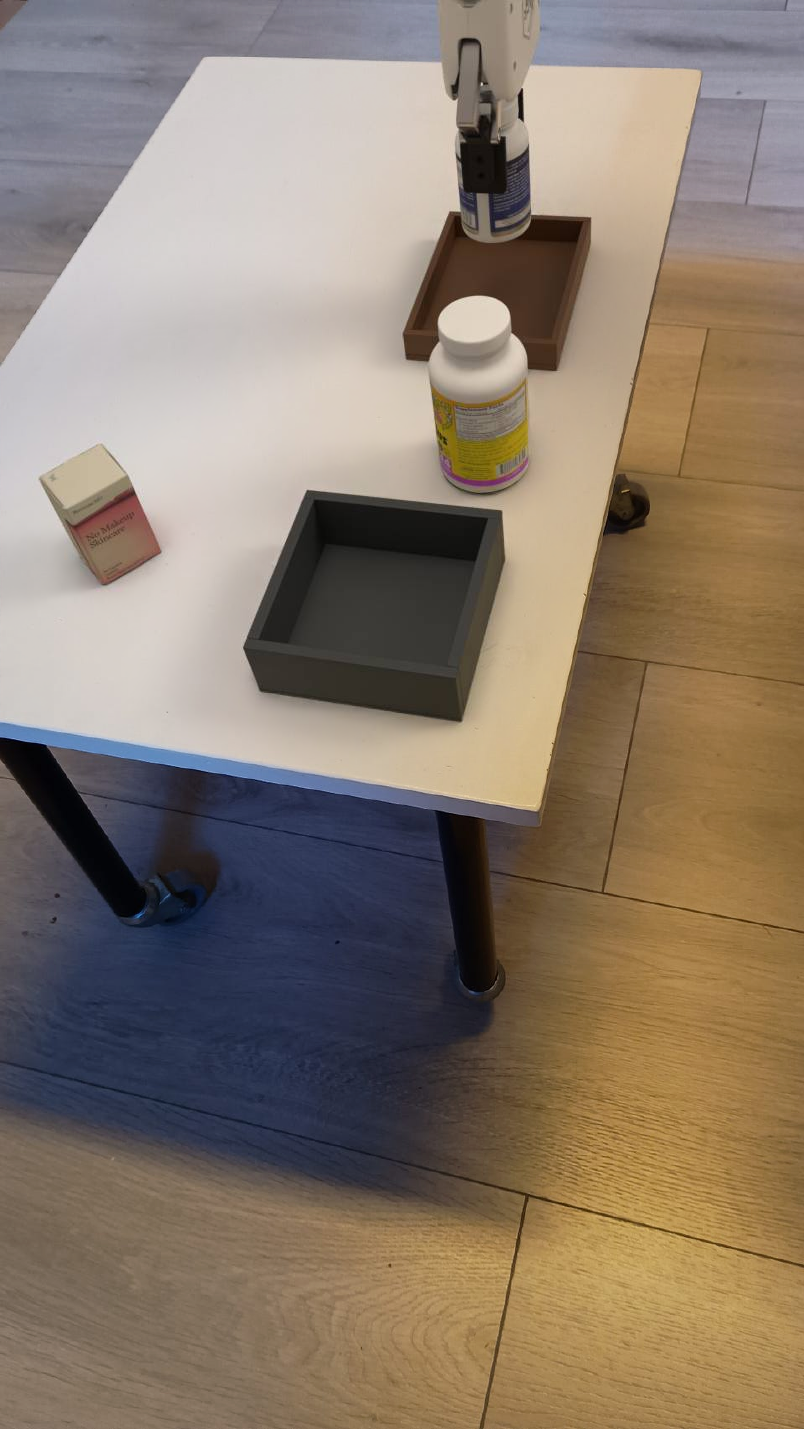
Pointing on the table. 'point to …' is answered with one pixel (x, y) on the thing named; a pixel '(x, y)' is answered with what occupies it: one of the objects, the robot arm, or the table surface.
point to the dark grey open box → (379, 604)
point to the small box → (101, 513)
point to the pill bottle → (511, 210)
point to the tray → (506, 283)
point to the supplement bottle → (480, 396)
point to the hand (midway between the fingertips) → (494, 164)
